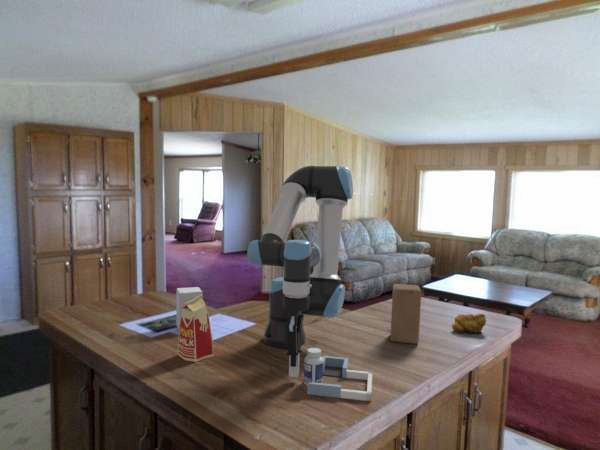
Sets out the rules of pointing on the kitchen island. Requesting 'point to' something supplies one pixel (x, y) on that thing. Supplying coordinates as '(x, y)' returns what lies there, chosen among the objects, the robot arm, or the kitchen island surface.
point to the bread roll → (469, 323)
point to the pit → (333, 371)
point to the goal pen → (355, 393)
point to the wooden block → (405, 313)
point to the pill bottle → (313, 366)
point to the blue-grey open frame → (329, 389)
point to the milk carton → (195, 332)
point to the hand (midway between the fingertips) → (293, 375)
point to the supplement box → (185, 300)
